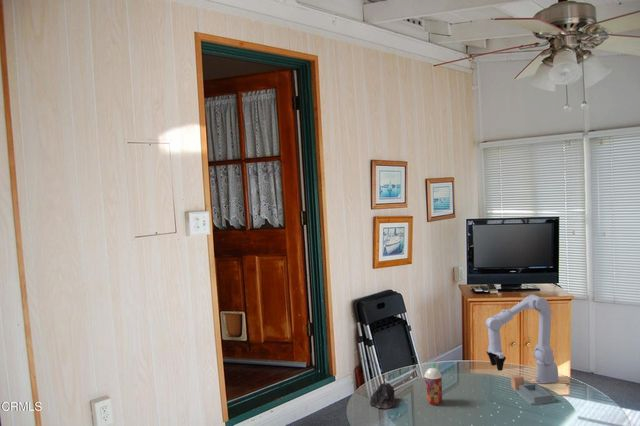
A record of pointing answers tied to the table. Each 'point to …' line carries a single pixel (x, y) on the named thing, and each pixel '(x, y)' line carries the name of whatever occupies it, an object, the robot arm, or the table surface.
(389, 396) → the crystal cluster
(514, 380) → the wooden block
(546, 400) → the well board
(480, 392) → the table surface
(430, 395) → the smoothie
